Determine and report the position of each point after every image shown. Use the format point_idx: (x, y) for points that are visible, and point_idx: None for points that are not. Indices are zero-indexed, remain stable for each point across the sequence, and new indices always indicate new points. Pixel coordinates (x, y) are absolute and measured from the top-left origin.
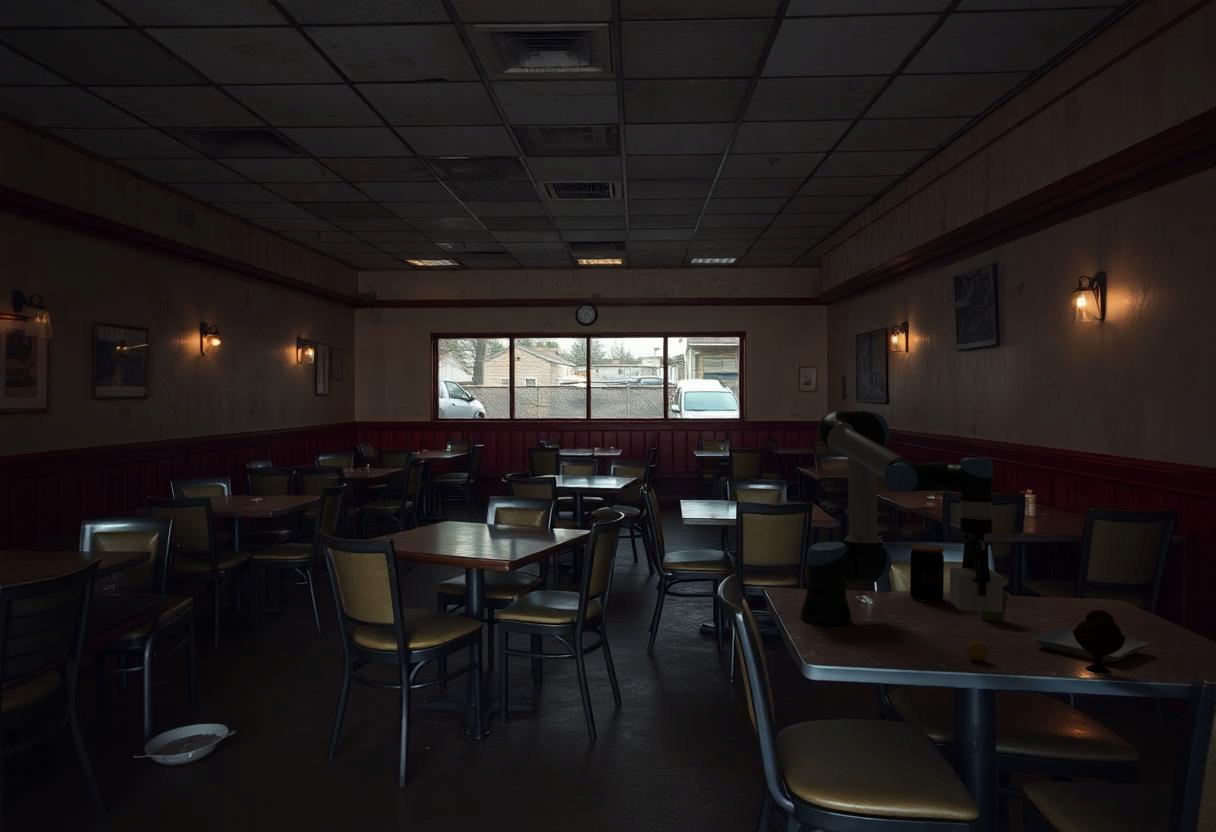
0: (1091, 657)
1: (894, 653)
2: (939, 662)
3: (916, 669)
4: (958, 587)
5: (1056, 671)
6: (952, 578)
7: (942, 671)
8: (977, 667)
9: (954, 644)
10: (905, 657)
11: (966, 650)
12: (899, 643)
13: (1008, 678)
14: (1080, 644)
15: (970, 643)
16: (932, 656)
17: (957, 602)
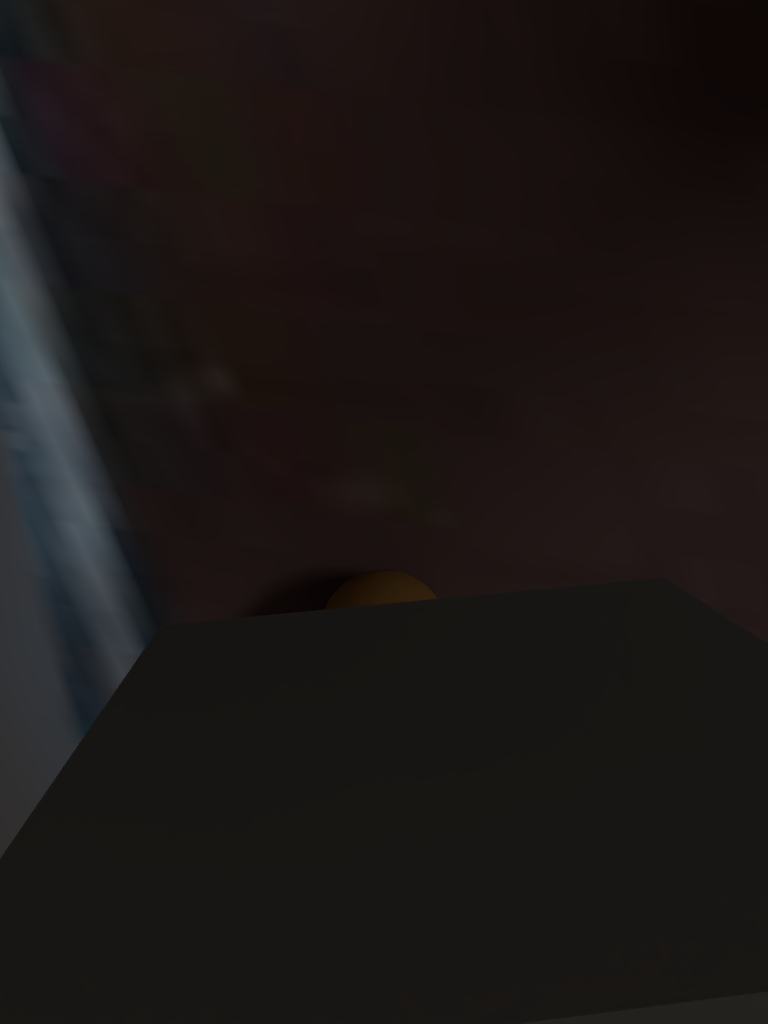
0: None
1: (369, 86)
2: (258, 383)
3: (31, 207)
4: (98, 794)
5: None
6: (687, 782)
7: (61, 377)
8: (237, 596)
9: (705, 529)
10: (294, 160)
11: (378, 572)
12: (642, 154)
13: (85, 726)
14: None
15: None
16: (383, 354)
17: (225, 647)
